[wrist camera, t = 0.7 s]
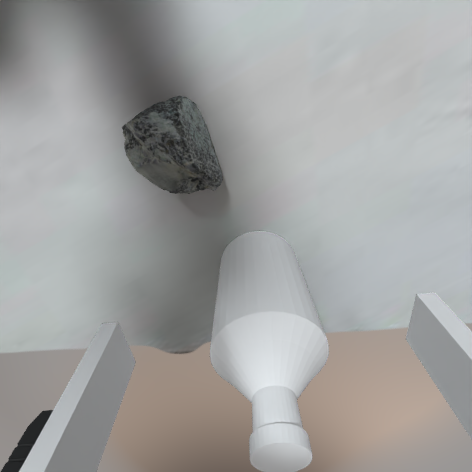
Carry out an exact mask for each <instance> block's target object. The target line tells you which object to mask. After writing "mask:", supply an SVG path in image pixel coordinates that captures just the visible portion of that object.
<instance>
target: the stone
mask: <svg viewBox="0 0 472 472" xmlns="http://www.w3.org/2000/svg"><path fill="white" fill-rule="evenodd" d="M122 129H123V134H124V137H125V139H126V140H125V143H124V145H125V151H126V155H127V157H128V158H129V161H130V162H131V164H132V165H133V167H134V168H135V169H136V171H137V172H139V173H140V174H141V175H143V176H144V177H145V178H147V179H148V180H149V181H150V182H152V183H153V184H155V185H157V186H158V187H160V188H161V189H163V190H167V191H169V192H170V193H175V194H176V193H188V194H190V193H192V192H195V191H199V190H204V189H211V190H213V191H214V190H216V188H217V187H218V186H220V184H221V182H222V181H223V179H222V172H221V170H220V168H219V165H218V160H217V158H216V155H215V153H214V148H213V146H212V143H211V140H210V136H209V133H208V130H207V127H206V124H205V122H204V120H203V118H202V115H201V113H200V111H199V109H198V108H197V106H196V104H195V103H194V102H192V101H191V100H190V99H188V98H187V97H182V96H178V97H174V98H171V99H169V100H168V101H166V102H160V103H157V104H154V105H153V106H151V107H149V108H148V109H146V110H144V111H142V112H141V113H140V114H138V115H137V116H136V117H135V118H133V119H132V120H131V121H129V122H128V123H127V124H125V125H124V126H123V127H122Z"/></svg>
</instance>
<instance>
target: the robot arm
mask: <svg viewBox="0 0 472 472" xmlns="http://www.w3.org/2000/svg"><path fill="white" fill-rule="evenodd" d="M406 340H407V342H408V343H409V345H410V346H411V348H412V349H413V351H414V352H415V354H416V356H417V357H418V359H419V360H420V362H421V363H422V365H423V366H424V368H425V369H426V371H427V372H428V374H429V375H430V377H431V378H432V380H433V381H434V383H435V384H436V386H437V387H438V389H439V391H440V392H441V393H442V395H443V397H444V398H445V400H446V401H447V402H448V404H449V406H450V407H451V409H452V410H453V412H454V413H455V415H456V416H457V418H458V420H459V421H460V423H461V424H462V425H463V427H464V429H465V430H466V432H467V433H468V435H469V436H470V438H471V439H472V331H471V330H470V329H469V328H468V327H467V326H466V325H465V324H464V323H463V322H462V321H461V320H460V319H459V317H458V316H457V315H456V314H455V313H454V312H453V311H452V310H451V309H450V308H449V307H448V306H447V305H446V304H445V303H444V302H443V300H442V299H441V298H440V297H439V296H438V295H437V294H436V293H435V292H433V293H422V294H416V297H415V301H414V306H413V310H412V314H411V319H410V323H409V328H408V332H407V336H406ZM135 363H136V361H135V359H134V357H133V354H132V352H131V350H130V348H129V345H128V343H127V341H126V339H125V336H124V334H123V332H122V330H121V327H120V325H119V323H118V322H112V323H102V324H101V326H100V328H99V329H98V331H97V333H96V335H95V337H94V338H93V340H92V342H91V344H90V345H89V347H88V349H87V351H86V353H85V355H84V356H83V358H82V360H81V362H80V363H79V365H78V367H77V369H76V371H75V372H74V374H73V376H72V378H71V380H70V381H69V383H68V385H67V387H66V389H65V390H64V392H63V394H62V396H61V398H60V399H59V401H58V403H57V405H56V407H55V408H54V410H49V411H42V412H41V413H40V414H39V416H37V418H36V419H35V420H34V421H33V422H32V423H31V424H30V425H29V426H28V428H27V429H26V431H25V432H24V435H23V436H22V438H21V439H20V441H19V443H18V446H17V447H16V448H15V449H14V451H13V452H12V455H11V456H10V457H9V461H8V462H7V463H6V464H5V466H4V467H3V469H2V471H1V472H96V471H97V468H98V466H99V463H100V460H101V457H102V455H103V452H104V449H105V446H106V444H107V441H108V438H109V435H110V432H111V430H112V427H113V424H114V421H115V418H116V416H117V413H118V410H119V407H120V405H121V402H122V399H123V396H124V393H125V391H126V388H127V385H128V382H129V380H130V377H131V374H132V371H133V369H134V366H135Z"/></svg>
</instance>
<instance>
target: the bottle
mask: <svg viewBox="0 0 472 472" xmlns="http://www.w3.org/2000/svg"><path fill="white" fill-rule="evenodd" d="M328 355H329V346H328V341H327V338H326V335H325V333H324V330H323V327H322V325H321V322H320V319H319V316H318V314H317V311H316V308H315V306H314V303H313V300H312V298H311V295H310V292H309V290H308V287H307V284H306V282H305V279H304V276H303V274H302V271H301V268H300V266H299V263H298V260H297V258H296V255H295V252H294V250H293V248H292V246H291V245H290V244H289V243H288V242H287V241H286V240H285V239H284V238H282V237H281V236H279V235H277V234H275V233H271V232H267V231H253V232H248V233H245V234H242V235H240V236H238V237H236V238H235V239H234V240H232V241H231V242H230V243H229V244H228V245H227V247H226V248H225V250H224V252H223V254H222V257H221V264H220V272H219V280H218V288H217V297H216V305H215V313H214V321H213V330H212V338H211V346H210V359H211V363H212V366H213V367H214V369H215V371H216V372H217V373H218V374H219V375H220V377H222V378H223V379H224V380H226V381H227V382H228V383H230V384H231V385H233V386H234V387H235V388H236V389H237V390H238V391H239V392H241V393H242V394H243V395H244V396H245V397H246V398H247V399H248V400H249V401H250V402H251V403H252V421H253V422H252V424H253V433H252V434H251V436H250V439H249V450H250V462H251V464H252V465H253V466H254V467H255V468H256V469H258V470H260V471H263V472H296V471H299V470H301V469H303V468H305V467H307V466H308V465H309V464H310V463H311V461H312V451H311V446H310V441H309V436H308V434H307V432H306V431H305V430H304V429H303V426H302V421H301V417H300V412H299V408H298V403H297V399H298V398H299V396H300V395H301V393H302V392H303V391H304V389H305V388H306V386H307V385H308V383H309V382H310V381H311V380H312V379H313V378H314V377H315V376H316V375H317V374H318V373H319V372H320V371H321V369H322V368H323V366H324V365H325V363H326V361H327V358H328Z"/></svg>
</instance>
